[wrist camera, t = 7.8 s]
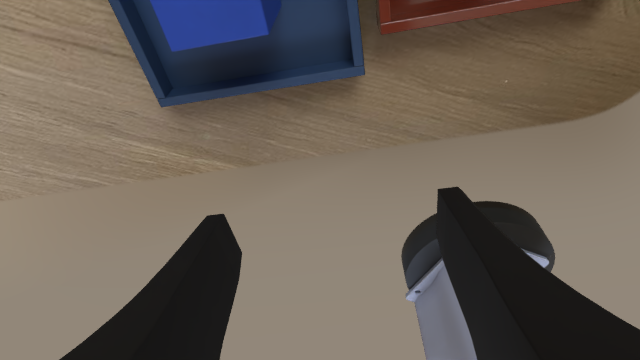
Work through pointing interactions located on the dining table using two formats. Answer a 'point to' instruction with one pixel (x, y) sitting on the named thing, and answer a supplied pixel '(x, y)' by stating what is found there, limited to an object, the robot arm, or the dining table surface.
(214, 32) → the blue block
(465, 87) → the dining table surface
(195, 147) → the dining table surface
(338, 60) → the blue tray
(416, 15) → the terracotta tray
